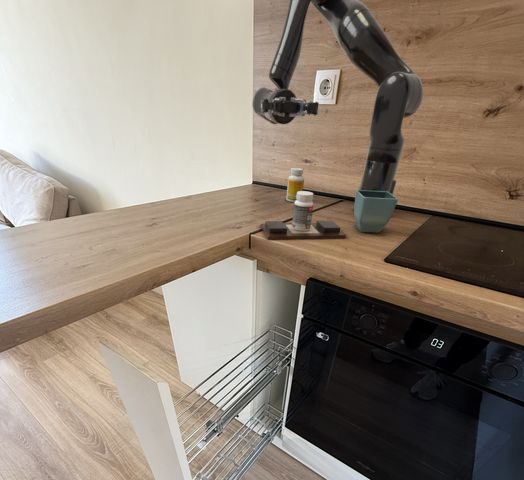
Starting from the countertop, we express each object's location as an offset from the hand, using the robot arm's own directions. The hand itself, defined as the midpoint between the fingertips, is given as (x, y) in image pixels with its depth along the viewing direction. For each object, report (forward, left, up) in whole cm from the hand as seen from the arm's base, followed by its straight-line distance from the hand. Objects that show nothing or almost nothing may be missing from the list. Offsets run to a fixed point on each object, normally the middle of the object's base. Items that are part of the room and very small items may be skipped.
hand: (296, 107), depth 73 cm
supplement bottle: (-8, -20, -25) cm, 33 cm away
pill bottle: (0, +13, -25) cm, 28 cm away
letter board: (-1, +13, -25) cm, 28 cm away
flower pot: (-20, +12, -25) cm, 34 cm away
